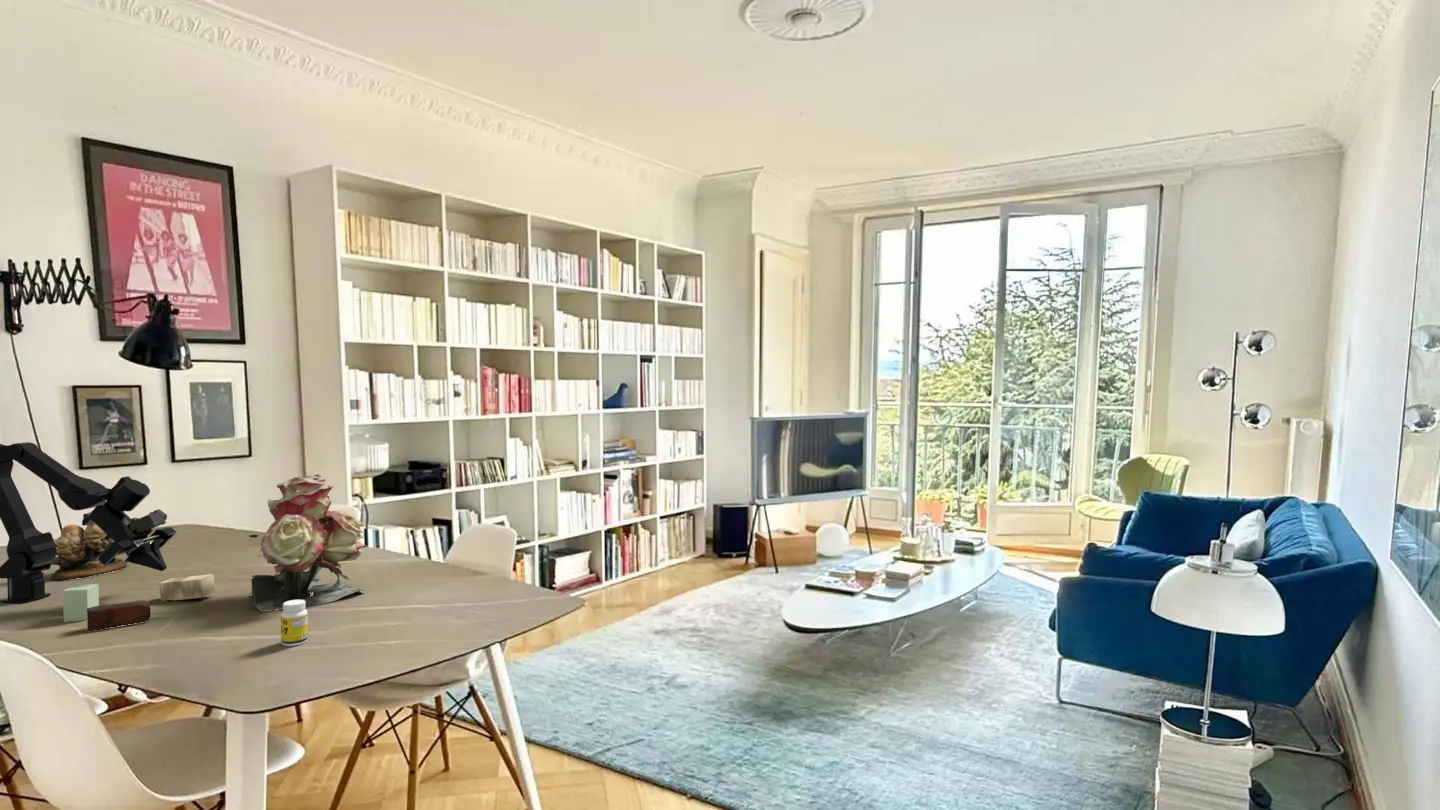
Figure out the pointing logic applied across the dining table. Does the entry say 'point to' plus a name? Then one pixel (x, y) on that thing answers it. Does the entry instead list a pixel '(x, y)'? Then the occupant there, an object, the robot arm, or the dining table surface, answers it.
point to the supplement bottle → (294, 623)
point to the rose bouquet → (305, 546)
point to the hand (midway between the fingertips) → (164, 569)
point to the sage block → (79, 601)
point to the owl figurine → (82, 553)
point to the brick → (117, 614)
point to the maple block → (187, 587)
